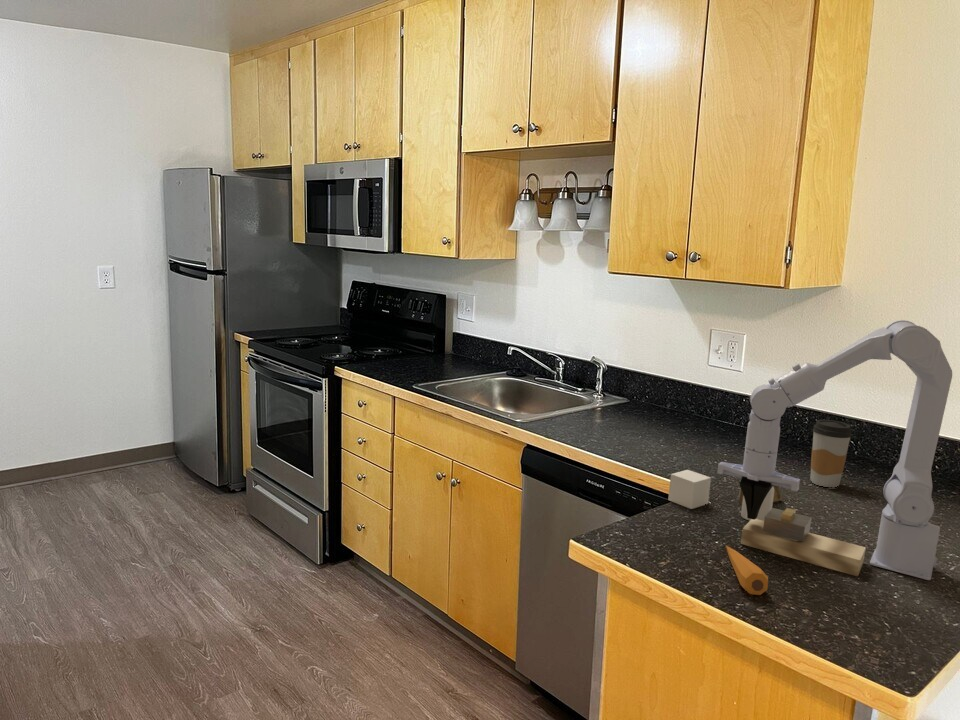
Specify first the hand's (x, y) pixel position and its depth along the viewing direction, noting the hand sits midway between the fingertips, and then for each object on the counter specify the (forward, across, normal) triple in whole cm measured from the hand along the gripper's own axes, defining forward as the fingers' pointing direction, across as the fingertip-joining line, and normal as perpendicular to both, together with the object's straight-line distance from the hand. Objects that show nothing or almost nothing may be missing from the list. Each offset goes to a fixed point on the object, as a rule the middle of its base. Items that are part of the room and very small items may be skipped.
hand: (752, 517), depth 141 cm
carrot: (+5, +3, -15) cm, 16 cm away
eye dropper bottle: (+5, -2, +11) cm, 12 cm away
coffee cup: (+5, +5, +47) cm, 48 cm away
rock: (+5, -4, +23) cm, 24 cm away
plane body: (+4, +9, 0) cm, 10 cm away
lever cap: (+1, +6, 0) cm, 6 cm away
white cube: (+5, -16, +11) cm, 20 cm away
